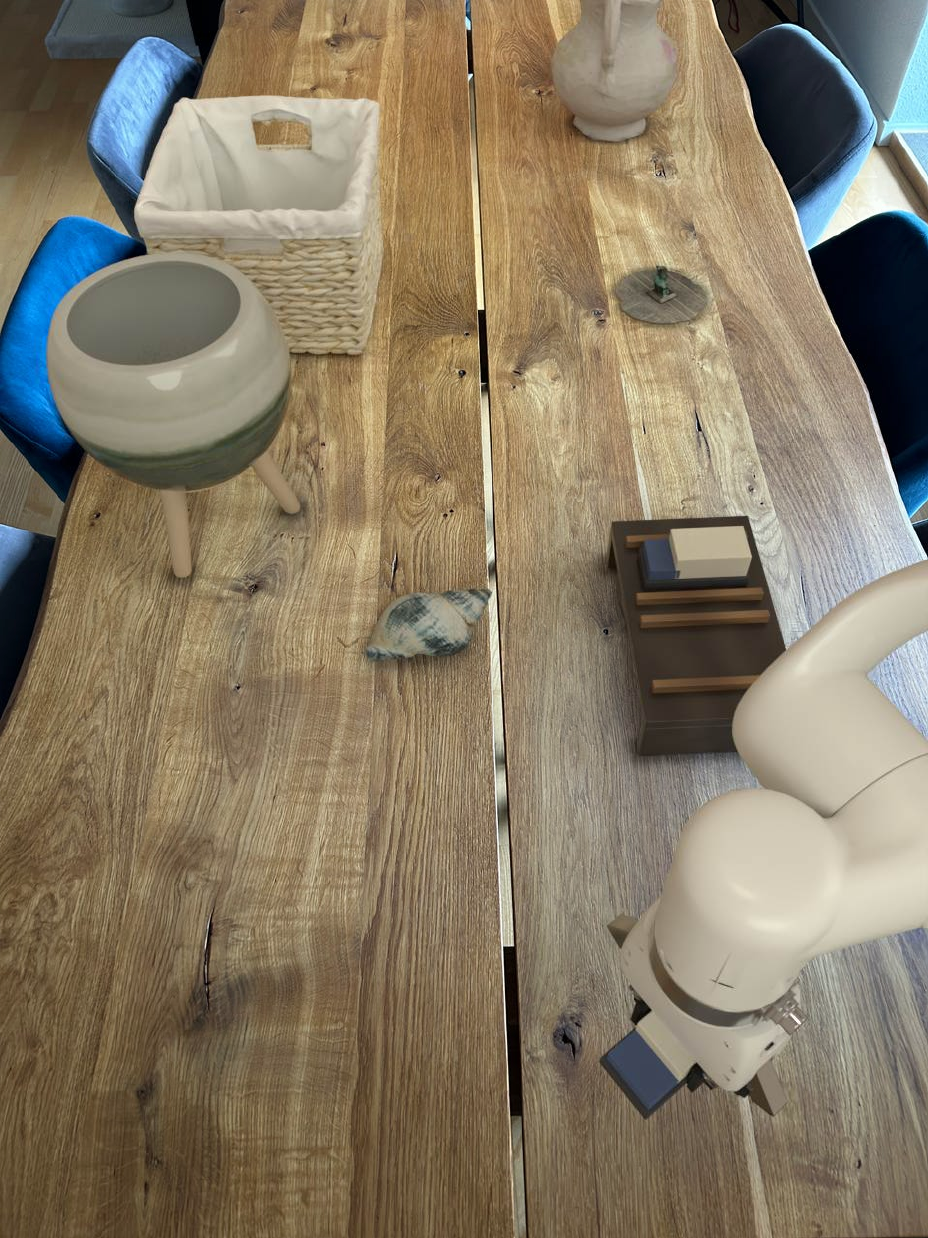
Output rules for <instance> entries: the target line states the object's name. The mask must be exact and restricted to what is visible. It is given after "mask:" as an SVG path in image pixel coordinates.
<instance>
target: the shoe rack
mask: <svg viewBox="0 0 928 1238" xmlns="http://www.w3.org/2000/svg"><path fill="white" fill-rule="evenodd" d="M732 526H743V527H744V530H745V534H746V538H747V541H748V545H749V548H750V552H751V555H752V559H751V562H750V565H749V568H748V574H749V577H750V579H749V582H748V585H747V586H732V587H709V588H686V589H663V590H644V586H643V581H642V576H641V570H640V565H639V560H638V551H639V548H643V544H644V540H656V539H669V536H670V531H671V529H686V528H709V527H732ZM607 542H608V543H607V552H606V558H605V561H606V562H605V563H606V567H607V569H614V568H615V569H616V570H617V577H618V582H619V583H618V584H619V588H620V594H621V599H622V605H623V612H624V617H625V624H626V628H627V634H628V641H629V646H630V652H631V658H632V659H631V660H632V664H633V671H634V676H635V681H636V687H637V694H638V699H639V705H640V710H641V717H642V719H641V723H640V728H639V733H638V737H637V742H636V750H637V756H638V757H651V756H672V755H675V756H676V755H691V754H692V755H696V754H718V753H739V752H738V750H737V748H736V746H735V743H734V740H733V735H732V723H733V718H734V714H735V711H736V708H737V706H738V704H739V702H740V700H741V699H742V697H743V696H744V694H745V693H746V691H747V690H748V689H749V687H750V686H751V685H752V684H753V683H754V682H755V681H756V679H757V678H758V677H759V676H760V675H761V674H762V673H763V672H764V671H765V670H766V669H767V668H768V667H769V666H770V665H771V664H772V663H773V662H774V661H775V660H776V659H777V658H778V657H779V656H780V655H781V654H782V653H784V652H785V651H786V650H787V648H786V644H785V641H784V636H783V633H782V630H781V627H780V626H781V625H780V622H779V620H778V615H777V612H776V608H775V605H774V601H773V598H772V595H771V592H770V588H769V584H768V581H767V577H766V574H765V571H764V567H763V564H762V559H761V556H760V553H759V550H758V546H757V542H756V539H755V535H754V531H753V528H752V525H751V521H750V518H749V515H732V516H730V515H728V516H707V517H685V518H663V519H661V518H660V519H658V518H657V519H640V520H639V519H638V520H614V521H611V522H610V528H609V535H608V541H607Z"/></svg>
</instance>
